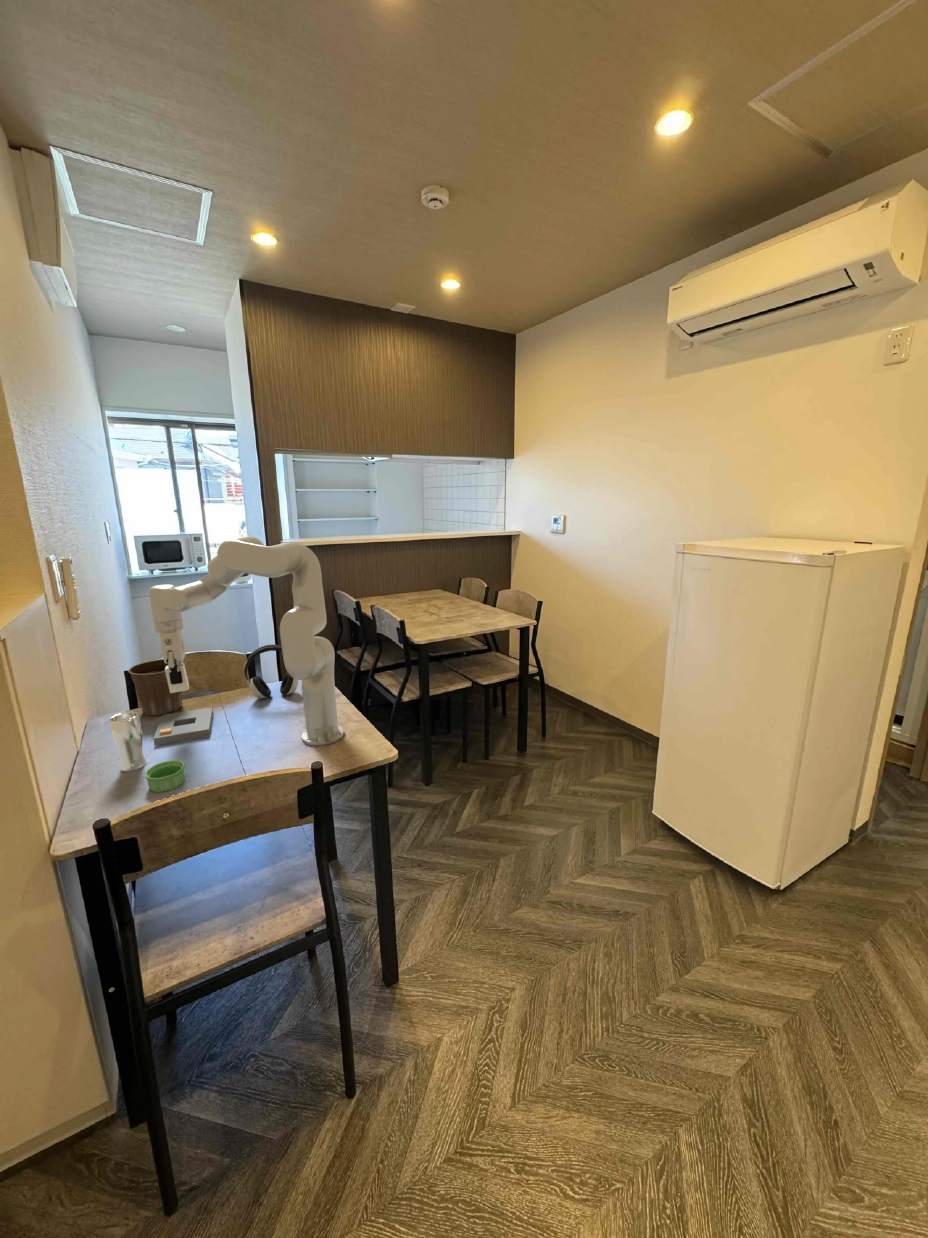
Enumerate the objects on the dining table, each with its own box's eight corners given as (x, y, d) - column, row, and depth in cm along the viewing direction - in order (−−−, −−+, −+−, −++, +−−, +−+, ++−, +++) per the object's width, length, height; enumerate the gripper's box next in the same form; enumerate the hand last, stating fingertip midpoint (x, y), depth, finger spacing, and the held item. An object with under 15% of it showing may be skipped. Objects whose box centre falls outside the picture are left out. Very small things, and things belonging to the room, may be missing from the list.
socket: (209, 736, 156) (208, 726, 156) (154, 745, 151) (152, 736, 150) (213, 713, 173) (212, 705, 172) (163, 721, 167) (162, 712, 166)
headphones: (301, 688, 194) (296, 639, 189) (303, 696, 186) (298, 645, 181) (247, 696, 187) (240, 645, 182) (247, 705, 179) (240, 652, 174)
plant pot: (193, 697, 187) (186, 656, 183) (184, 714, 172) (177, 670, 168) (143, 703, 182) (135, 661, 178) (130, 722, 167) (121, 676, 163)
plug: (188, 690, 158) (181, 661, 155) (170, 693, 156) (163, 664, 153) (189, 686, 161) (183, 658, 158) (171, 689, 159) (165, 661, 157)
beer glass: (126, 775, 135) (116, 724, 131) (113, 768, 139) (103, 718, 135) (153, 763, 141) (144, 714, 137) (140, 757, 144) (131, 709, 141)
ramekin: (168, 772, 136) (165, 758, 135) (194, 777, 134) (192, 762, 133) (139, 791, 128) (136, 775, 127) (166, 796, 125) (163, 780, 124)
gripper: (179, 630, 147) (188, 688, 152) (185, 618, 162) (193, 671, 166) (149, 633, 144) (160, 692, 149) (158, 620, 159) (167, 674, 164)
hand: (177, 680), depth 158 cm, fingers closed on plug, 3 cm apart
